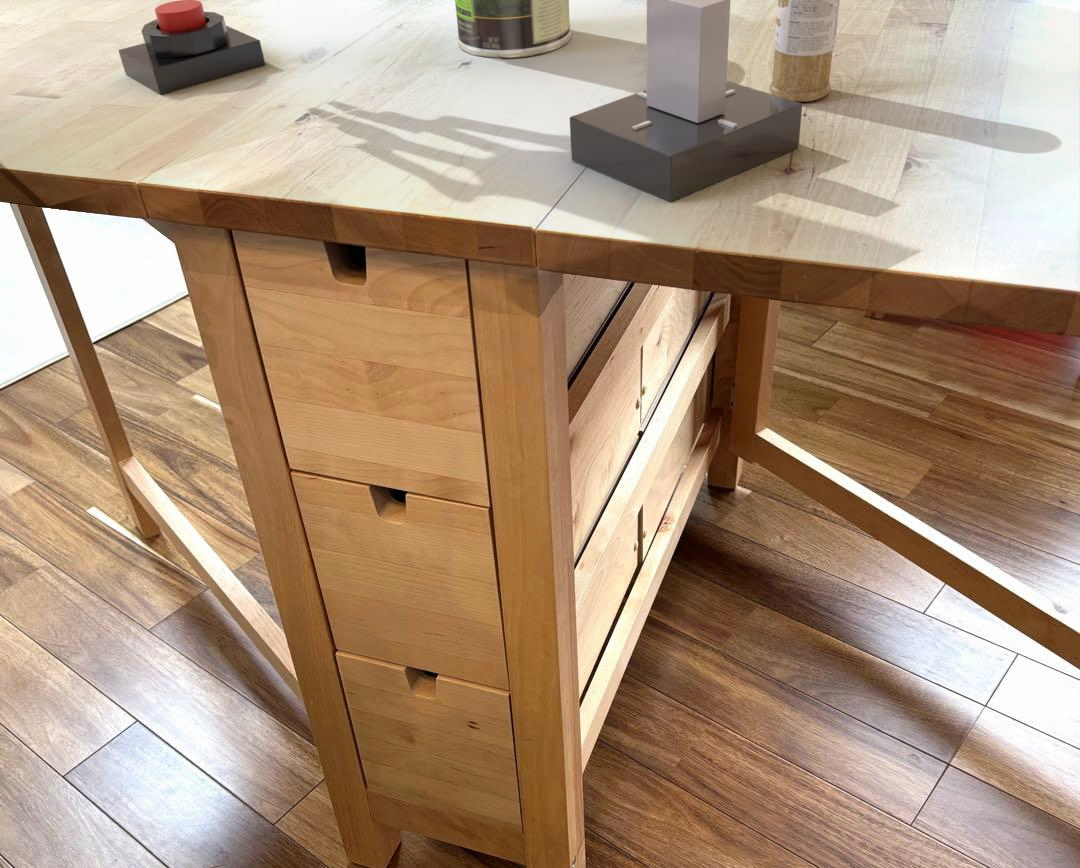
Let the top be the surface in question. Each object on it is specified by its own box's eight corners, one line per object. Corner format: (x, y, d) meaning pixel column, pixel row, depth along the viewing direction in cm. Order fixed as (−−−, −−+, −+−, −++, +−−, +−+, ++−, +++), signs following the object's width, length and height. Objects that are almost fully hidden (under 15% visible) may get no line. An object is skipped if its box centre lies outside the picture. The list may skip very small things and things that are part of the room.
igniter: (160, 96, 89) (146, 46, 87) (126, 75, 94) (111, 28, 92) (266, 66, 94) (254, 17, 91) (227, 48, 98) (215, 1, 96)
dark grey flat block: (670, 202, 67) (671, 153, 65) (571, 160, 73) (568, 114, 71) (798, 148, 72) (803, 101, 70) (695, 113, 78) (697, 68, 76)
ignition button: (171, 37, 89) (165, 15, 88) (153, 29, 92) (147, 7, 91) (214, 26, 91) (209, 4, 90) (195, 18, 94) (190, -4, 92)
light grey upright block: (725, 113, 69) (731, -7, 65) (697, 123, 68) (701, 3, 63) (673, 96, 72) (675, -20, 68) (646, 105, 71) (646, -11, 67)
